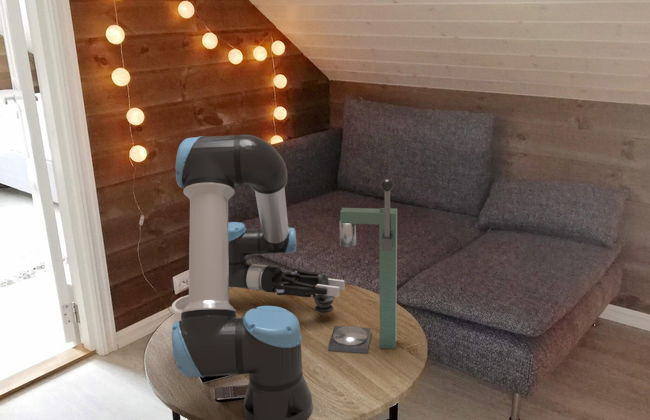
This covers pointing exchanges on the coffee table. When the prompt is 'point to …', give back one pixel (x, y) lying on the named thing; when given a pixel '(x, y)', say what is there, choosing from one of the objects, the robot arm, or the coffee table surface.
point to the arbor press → (387, 220)
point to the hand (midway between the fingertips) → (341, 288)
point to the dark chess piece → (323, 296)
